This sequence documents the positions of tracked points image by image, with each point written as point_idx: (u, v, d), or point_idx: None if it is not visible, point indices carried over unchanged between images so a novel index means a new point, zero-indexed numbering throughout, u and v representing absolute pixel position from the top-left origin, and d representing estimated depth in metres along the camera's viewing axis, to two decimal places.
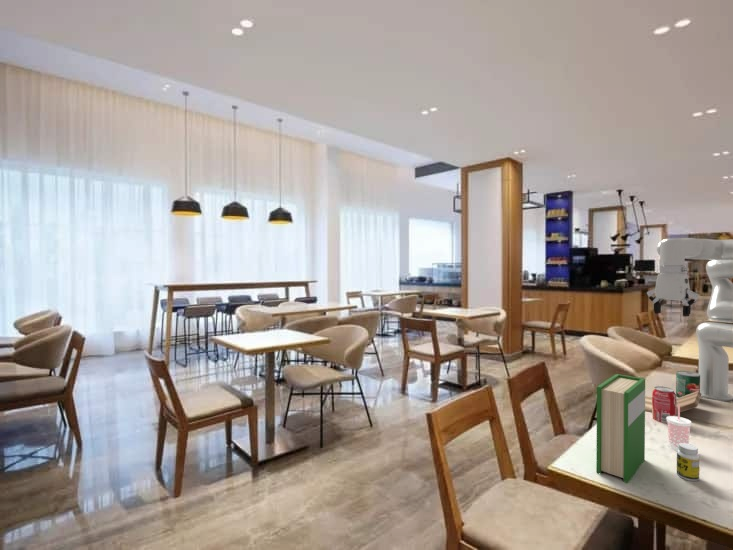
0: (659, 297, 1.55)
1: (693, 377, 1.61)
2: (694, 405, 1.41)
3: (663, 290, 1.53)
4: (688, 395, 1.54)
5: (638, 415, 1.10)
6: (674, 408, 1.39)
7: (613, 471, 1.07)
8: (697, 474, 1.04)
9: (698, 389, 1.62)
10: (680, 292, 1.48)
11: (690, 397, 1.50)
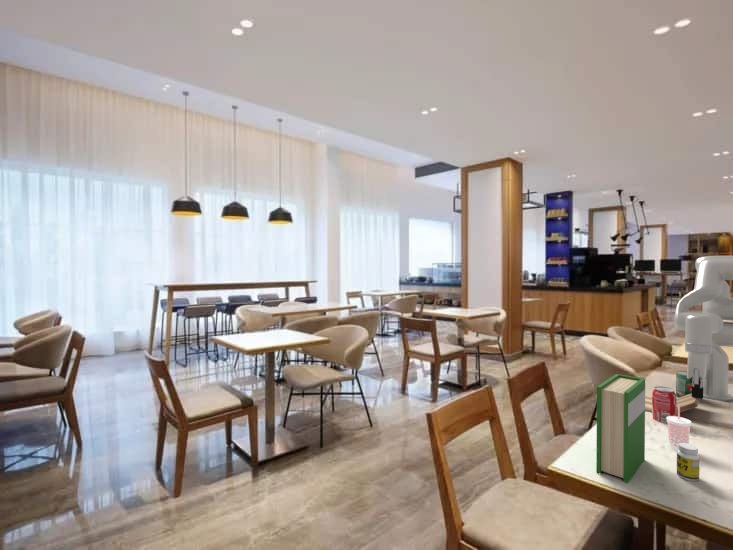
0: (703, 379, 1.42)
1: None
2: (694, 405, 1.41)
3: None
4: (688, 395, 1.54)
5: (638, 415, 1.10)
6: (674, 408, 1.39)
7: (613, 471, 1.07)
8: (697, 474, 1.04)
9: None
10: None
11: (690, 397, 1.50)
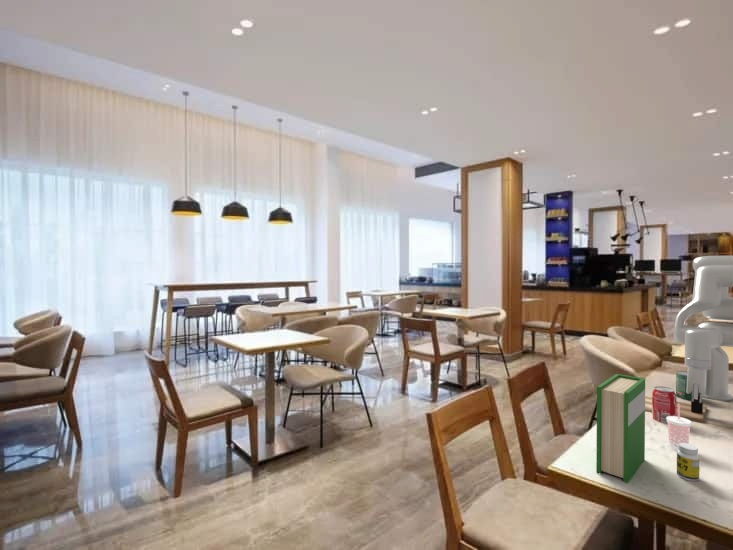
0: (703, 394, 1.42)
1: None
2: (700, 421, 1.40)
3: (704, 385, 1.43)
4: None
5: (638, 415, 1.10)
6: (674, 408, 1.39)
7: (613, 471, 1.07)
8: (697, 474, 1.04)
9: None
10: None
11: None
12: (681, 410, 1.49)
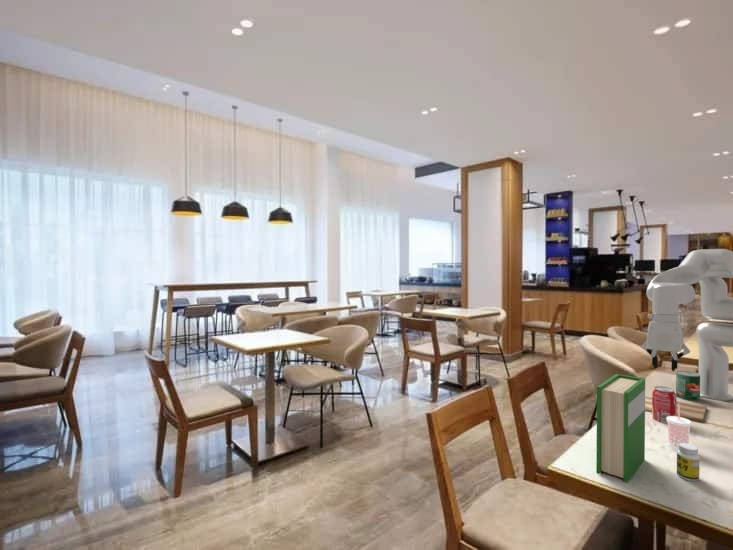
0: None
1: (693, 377, 1.61)
2: (700, 421, 1.40)
3: None
4: (693, 405, 1.53)
5: (638, 415, 1.10)
6: (674, 408, 1.39)
7: (613, 471, 1.07)
8: (697, 474, 1.04)
9: (698, 389, 1.62)
10: None
11: (696, 409, 1.49)
12: (681, 410, 1.49)
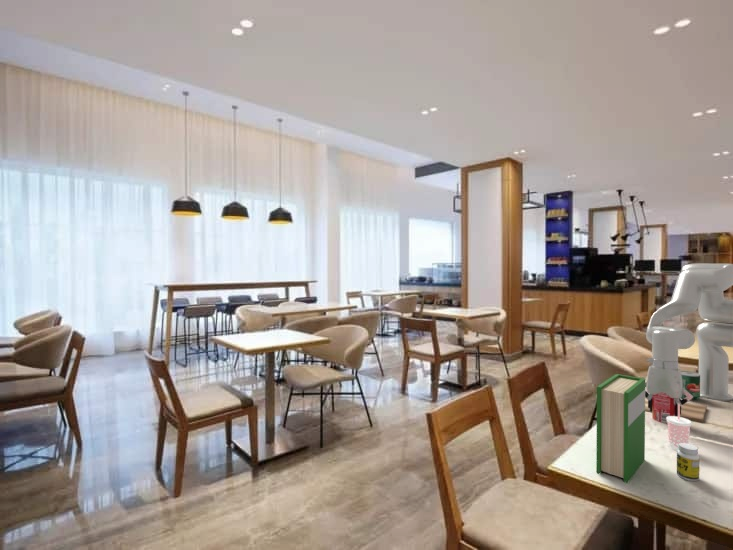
0: None
1: (693, 377, 1.61)
2: (700, 421, 1.40)
3: None
4: (693, 405, 1.53)
5: (638, 415, 1.10)
6: (674, 408, 1.39)
7: (613, 471, 1.07)
8: (697, 474, 1.04)
9: (698, 389, 1.62)
10: None
11: (696, 409, 1.49)
12: (681, 410, 1.49)
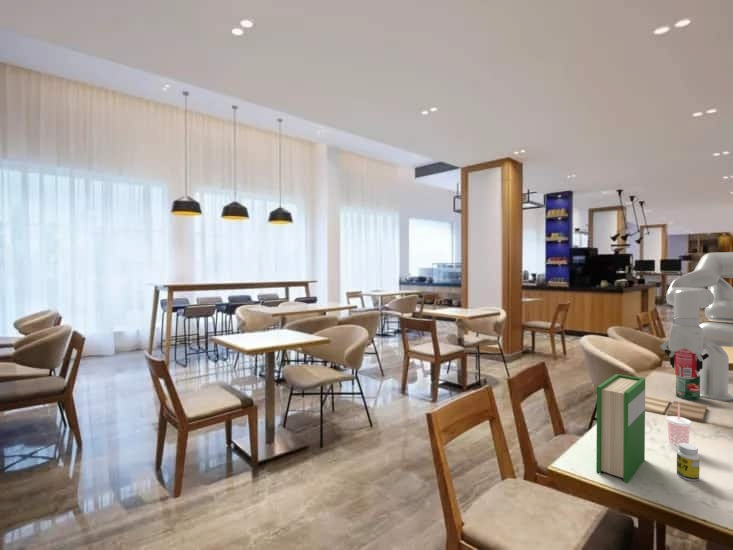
0: None
1: None
2: (700, 421, 1.40)
3: None
4: (693, 405, 1.53)
5: (638, 415, 1.10)
6: (696, 363, 1.46)
7: (613, 471, 1.07)
8: (697, 474, 1.04)
9: (698, 389, 1.62)
10: None
11: (696, 409, 1.49)
12: (681, 410, 1.49)
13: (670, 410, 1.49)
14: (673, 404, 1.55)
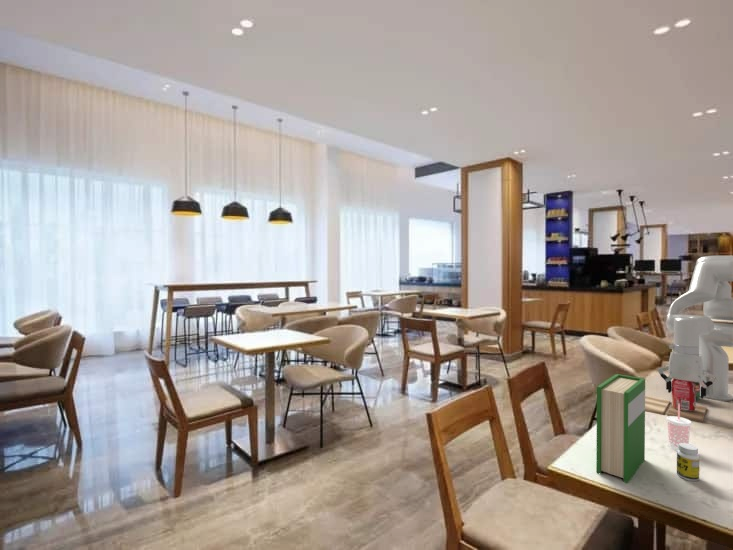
0: None
1: None
2: (700, 422, 1.40)
3: None
4: None
5: (638, 415, 1.10)
6: (693, 396, 1.47)
7: (613, 471, 1.07)
8: (697, 474, 1.04)
9: (698, 389, 1.62)
10: None
11: (696, 410, 1.49)
12: None
13: (670, 410, 1.49)
14: None
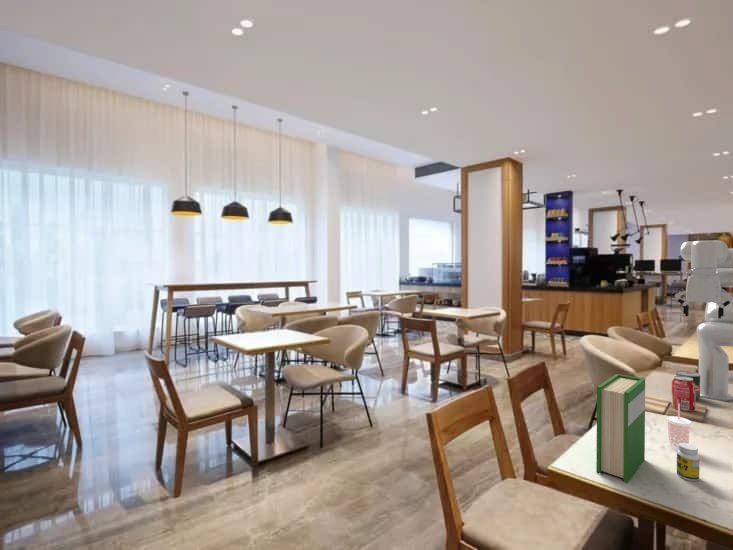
0: None
1: (693, 377, 1.61)
2: (700, 422, 1.40)
3: None
4: None
5: (638, 415, 1.10)
6: (693, 396, 1.47)
7: (613, 471, 1.07)
8: (697, 474, 1.04)
9: (698, 389, 1.62)
10: None
11: (696, 410, 1.49)
12: None
13: (670, 410, 1.49)
14: None
